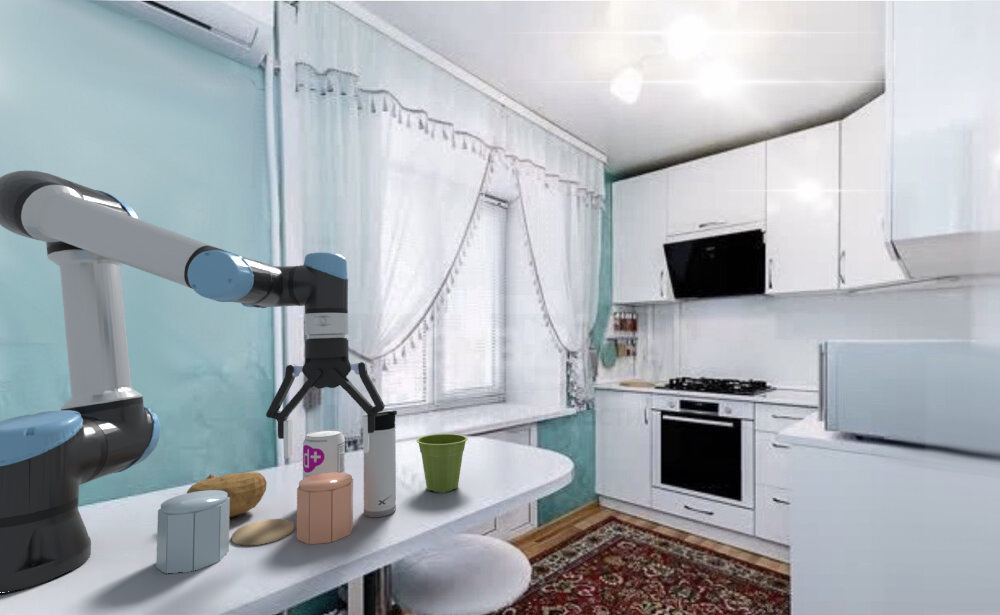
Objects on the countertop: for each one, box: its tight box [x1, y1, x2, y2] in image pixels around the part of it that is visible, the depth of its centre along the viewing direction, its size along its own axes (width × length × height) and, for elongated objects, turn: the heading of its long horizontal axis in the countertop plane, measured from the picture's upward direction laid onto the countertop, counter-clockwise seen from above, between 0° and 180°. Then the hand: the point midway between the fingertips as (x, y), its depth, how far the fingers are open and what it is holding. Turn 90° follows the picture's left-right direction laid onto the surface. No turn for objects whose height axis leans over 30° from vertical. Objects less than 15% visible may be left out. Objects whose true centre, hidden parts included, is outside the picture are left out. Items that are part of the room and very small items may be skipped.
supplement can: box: [302, 429, 346, 479], centre depth 97 cm, size 8×8×15 cm
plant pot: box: [416, 433, 469, 493], centre depth 107 cm, size 12×12×11 cm
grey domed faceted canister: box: [155, 490, 230, 575], centre depth 74 cm, size 9×9×9 cm
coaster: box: [231, 518, 295, 547], centre depth 83 cm, size 10×10×1 cm
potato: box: [185, 471, 267, 518], centre depth 91 cm, size 10×14×8 cm
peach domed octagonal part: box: [296, 472, 354, 545], centre depth 83 cm, size 9×9×9 cm
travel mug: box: [363, 410, 398, 518], centre depth 93 cm, size 6×7×20 cm
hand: (327, 454), depth 84 cm, fingers open, 13 cm apart
